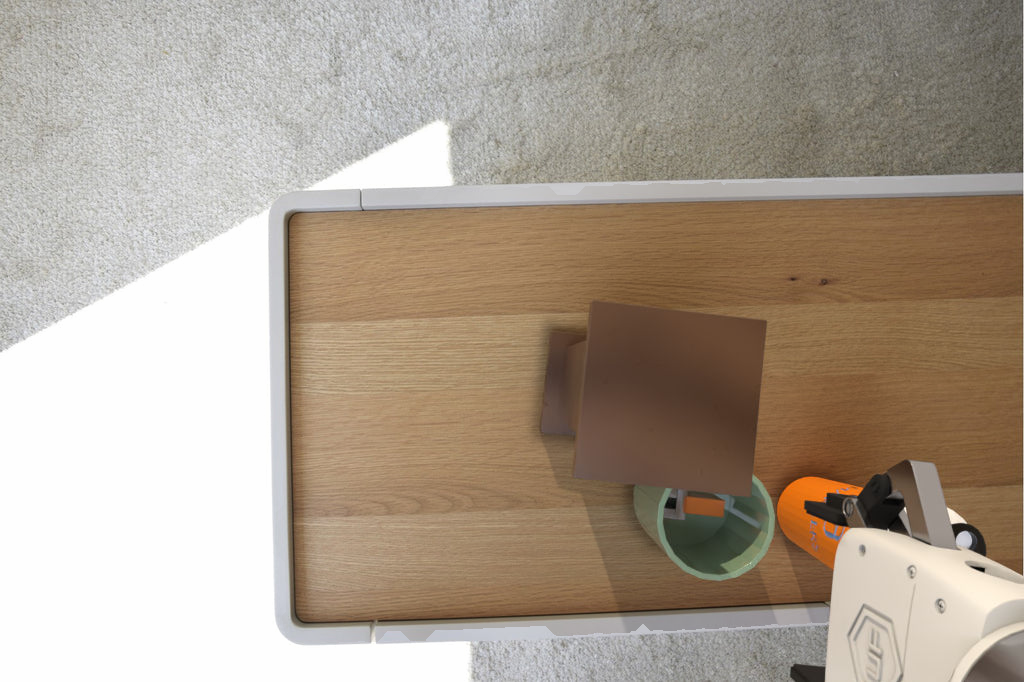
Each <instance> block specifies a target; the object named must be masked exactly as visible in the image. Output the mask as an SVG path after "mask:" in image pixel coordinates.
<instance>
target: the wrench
mask: <svg viewBox="0 0 1024 682" xmlns="http://www.w3.org/2000/svg"><path fill="white" fill-rule="evenodd" d="M724 506H725V500H723V499H721V498H719V497H718V496H716V495H714V494H704V493H695V492H688V490H680V489H672V490H671V492H670V494H669V497H668V503H666V504H665V506H664V515H663V518H664V519H673V520H674V519H675V520H683V521H685V516H686V513H688V514H697V515H707V516H716V517H723V516H724Z"/></svg>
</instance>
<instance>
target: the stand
mask: <svg viewBox="0 0 1024 682" xmlns="http://www.w3.org/2000/svg"><path fill="white" fill-rule="evenodd" d="M767 326H768V320H767V319H759V318H753V317H752V318H750V317H744V316H743V317H742V316H734V315H727V314H726V315H725V314H719V313H718V314H716V313H707V312H700V311H692V310H691V311H690V310H682V309H673V308H665V307H657V306H648V305H639V304H631V303H622V302H612V301H604V300H598V299H597V300H596V299H593V300H591V301H589V309H588V318H587V329H586V333H577V332H568V331H560V330H559V331H558V330H551V331H550V332H549V339H548V347H547V357H546V367H545V375H544V385H543V393H542V401H541V402H542V403H541V410H540V411H541V412H540V421H539V428H538V431H539V432H540V433H542V434H543V433H544V434H551V435H553V434H554V435H561V436H568V437H569V436H571V437H575V440H574V449H573V458H572V467H571V476H572V478H574V479H581V480H591V481H599V482H608V483H616V484H617V483H618V484H627V485H633V486H635V485H643V486H652V487H661V488H670V489H680V490H689V491H698V492H707V493H716V494H725V495H734V496H743V497H751V488H752V477H753V475H754V466H755V455H756V454H755V453H756V445H757V433H758V424H759V423H758V422H759V412H760V402H761V391H762V382H763V381H762V380H763V372H764V371H763V369H764V359H765V349H766V337H767V328H768V327H767Z"/></svg>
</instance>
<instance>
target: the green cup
mask: <svg viewBox="0 0 1024 682" xmlns="http://www.w3.org/2000/svg"><path fill="white" fill-rule="evenodd" d="M671 490H672V489H670V488H661V487H652V486H643V485H633V491H632V502H633V509H634V513H635V516H636V518H637V520H638V522H639V524H640V526H641V527H642V528H643V530H644V532H645V534H647V535H648V537H650V539H651V540H652V541H653V542H654V543H655V544H656V545H657V546H658V547H659V548H660V549H661V550H662V551H663V553H665V554H666V555H667V557H668V558H669V559H670V560H672V562H673V563H675V565H677V566H678V567H679V568H680V569H681V570H682V571H683V572H685V573H686V574H689V575H692V576H693V577H696V578H699V579H702V580H709V581H718V582H719V581H721V582H722V581H725V580H729V579H735V578H739V577H741V576H742V575H743V574H745V573H747V572H749V571H750V570H752V569H754V568H755V567H756V566H757V565H758V564H759V562H760V561H761V560H762V559H763V558H764V557H765V556H766V554H767V552H768V551H769V548H770V545H771V544H772V541H773V538H774V534H775V524H776V514H775V509H774V505H773V501H772V497H771V496H770V494H769V492H768V490H767V488H766V487H765V485H764V484H763V482H762V481H761V480H760V479H759V478H757V477H756V476H755V474H753V477H752V488H751V497H743V496H734V495H725V494H716V493H707V492H698V491H689V490H688V492H695V493H704V494H714V495H716V496H718V497H719V498H721V499H723V500H725V506H724V516H723V517H716V516H707V515H697V514H688V513H686V516H685V521H683V520H675V519H674V520H673V519H664V518H663V515H664V506H665V504H666V503H668V497H669V494H670V492H671Z"/></svg>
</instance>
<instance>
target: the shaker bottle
mask: <svg viewBox="0 0 1024 682" xmlns="http://www.w3.org/2000/svg"><path fill="white" fill-rule="evenodd" d="M863 488H864V487H861V486H857V485H853V484H850V483H845V482H844V483H843V482H840V481H836V480H831V479H827V478H823V477H818V476H804V477H801V478H798V479H796V480H794V481H792V482H791V483H790V484H788V485H787V486H786V487H785V488H784V490H783V491H782V492H781V495H780V496H779V498H778V502H777V505H776V517H777V521H778V524H779V527H780V529H781V530H782V532H783V535H785V536H786V537H787V539H789V541H791V542H792V543H794V544H795V545H797V546H798V547H799V548H801V549H802V550H803V551H805V552H807V553H808V554H810V555H811V556H812V557H814V558H815V559H817V560H818V561H820V562H821V563H823V564H824V565H825V566H827V567H828V568H829V569H831V570H832V571H834V563H835V556H836V551H837V548H838V545H839V542H840V540H841V538H842V537H843V535H844V534H845V533H846V531H848V530H849V529H850V528H849V527H843V526H837V525H834V524H832V523H829V522H827V521H824V520H822V519H820V518H817V517H815V516H812V515H810V514H807V513H806V510H805V509H804V502H805V500H808V501H817V502H826V497H827V493H838V494H845V495H851V496H855V497H857V496H858V495H859V494H860V492H861V491H862V490H863ZM904 510H905V511H906V508H904ZM947 510H948V514H949V518H950V522H951V525H952V529H953V533H954V537H955V541H956V544H957V545H959V546H962V547H964V548H966V549H969V550H971V551H973V552H975V553H978V554H980V555H982V556H984V557H986V558H987V553H988V552H987V544H986V540H985V538H984V535H983V534H982V532H981V531H980V529H979V528H977V527H975V526H974V525H972V524H971V523H967V521H966V520H965V519H964V518H963V517H962V516H961V515H959V514H958V513H957V512H956V511H955V510H953V509H951V508H949V507H947ZM906 513H907V512H906ZM888 531H889V530H888Z"/></svg>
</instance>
